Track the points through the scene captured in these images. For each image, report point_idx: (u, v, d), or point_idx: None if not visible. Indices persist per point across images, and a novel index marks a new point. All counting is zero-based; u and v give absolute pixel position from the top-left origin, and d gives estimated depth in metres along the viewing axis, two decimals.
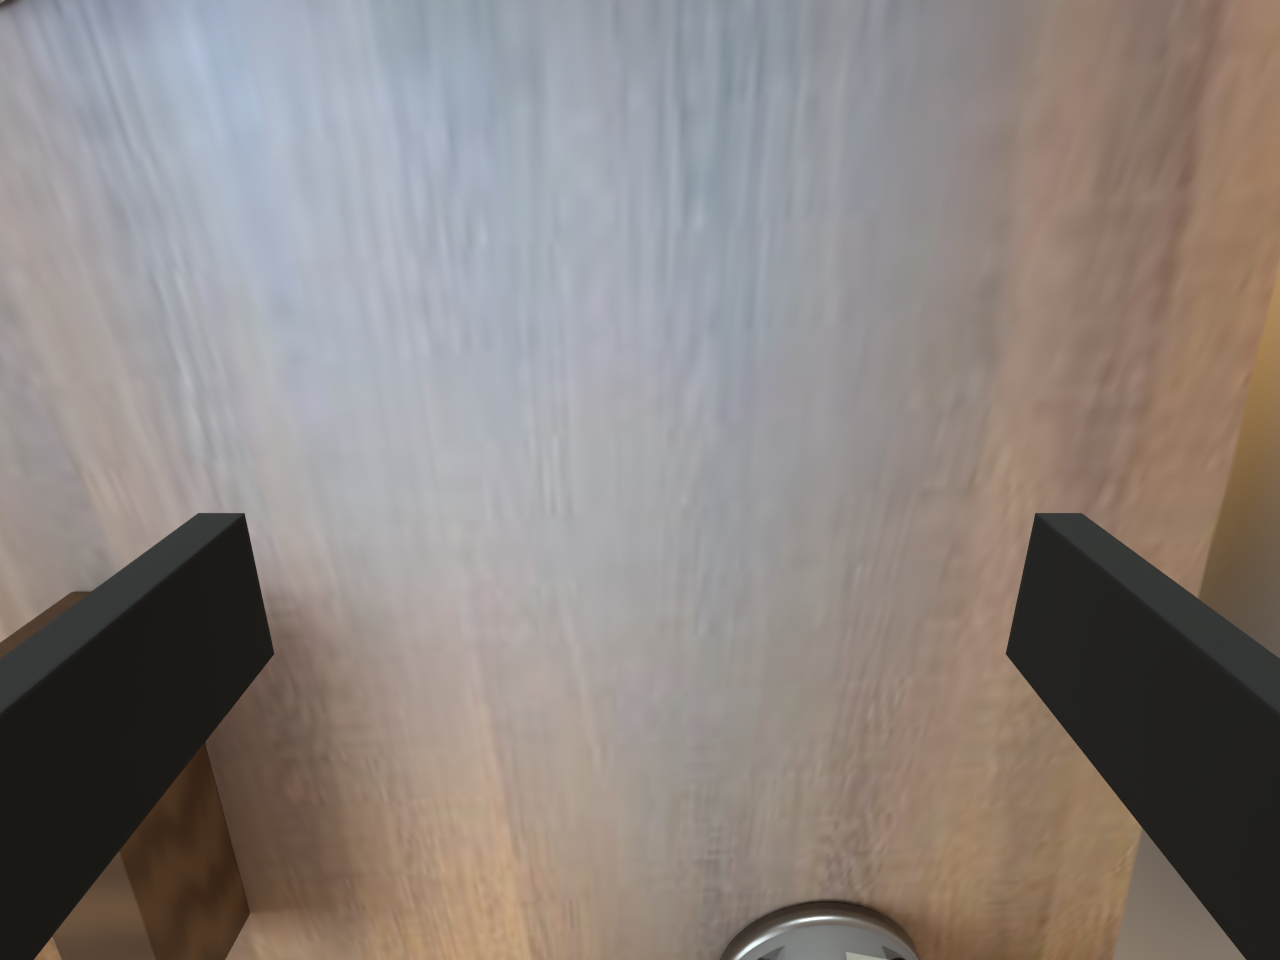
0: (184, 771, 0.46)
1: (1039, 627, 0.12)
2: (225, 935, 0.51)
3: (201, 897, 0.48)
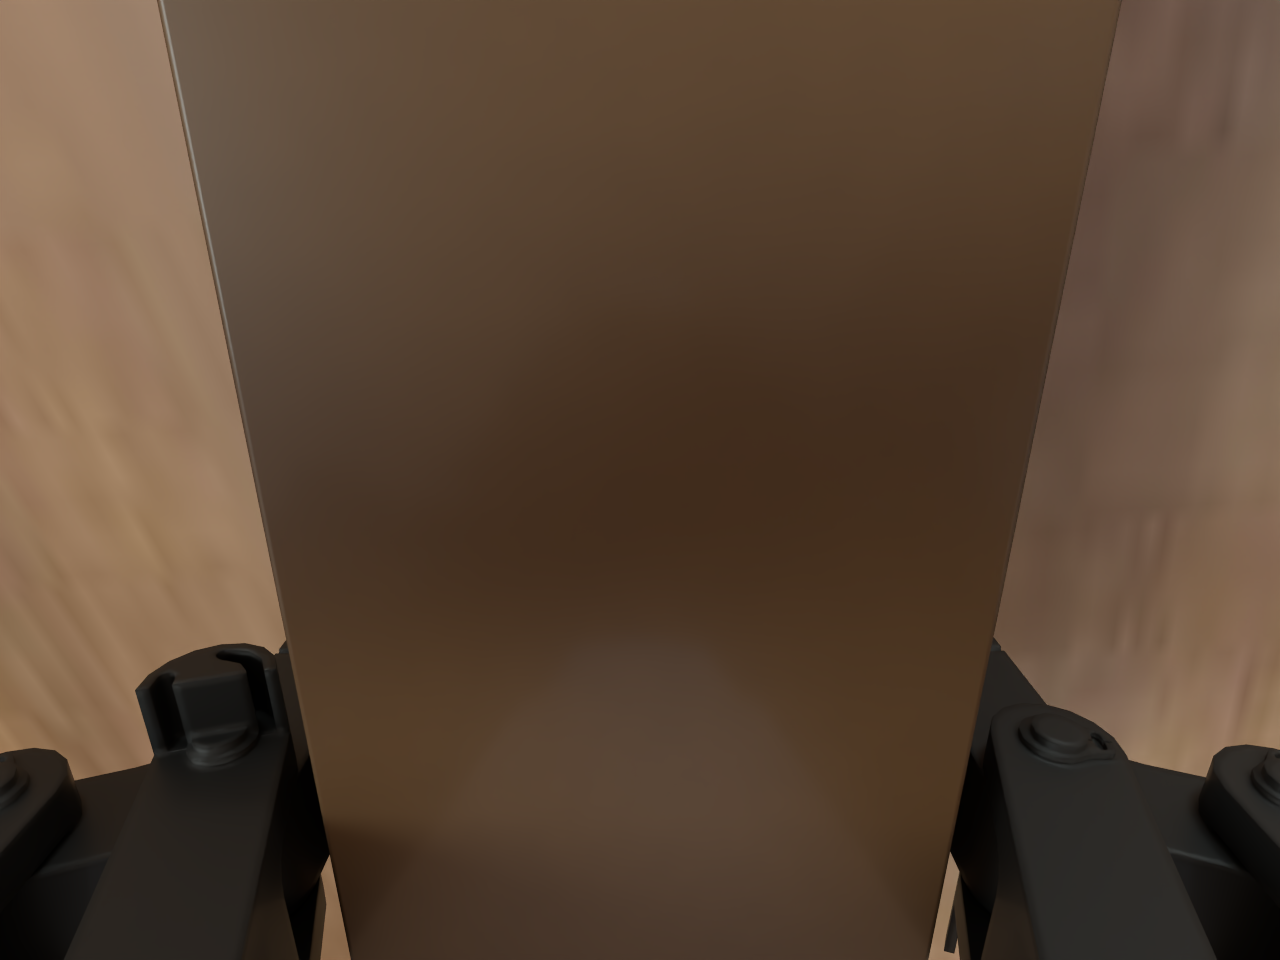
0: None
1: None
2: None
3: None
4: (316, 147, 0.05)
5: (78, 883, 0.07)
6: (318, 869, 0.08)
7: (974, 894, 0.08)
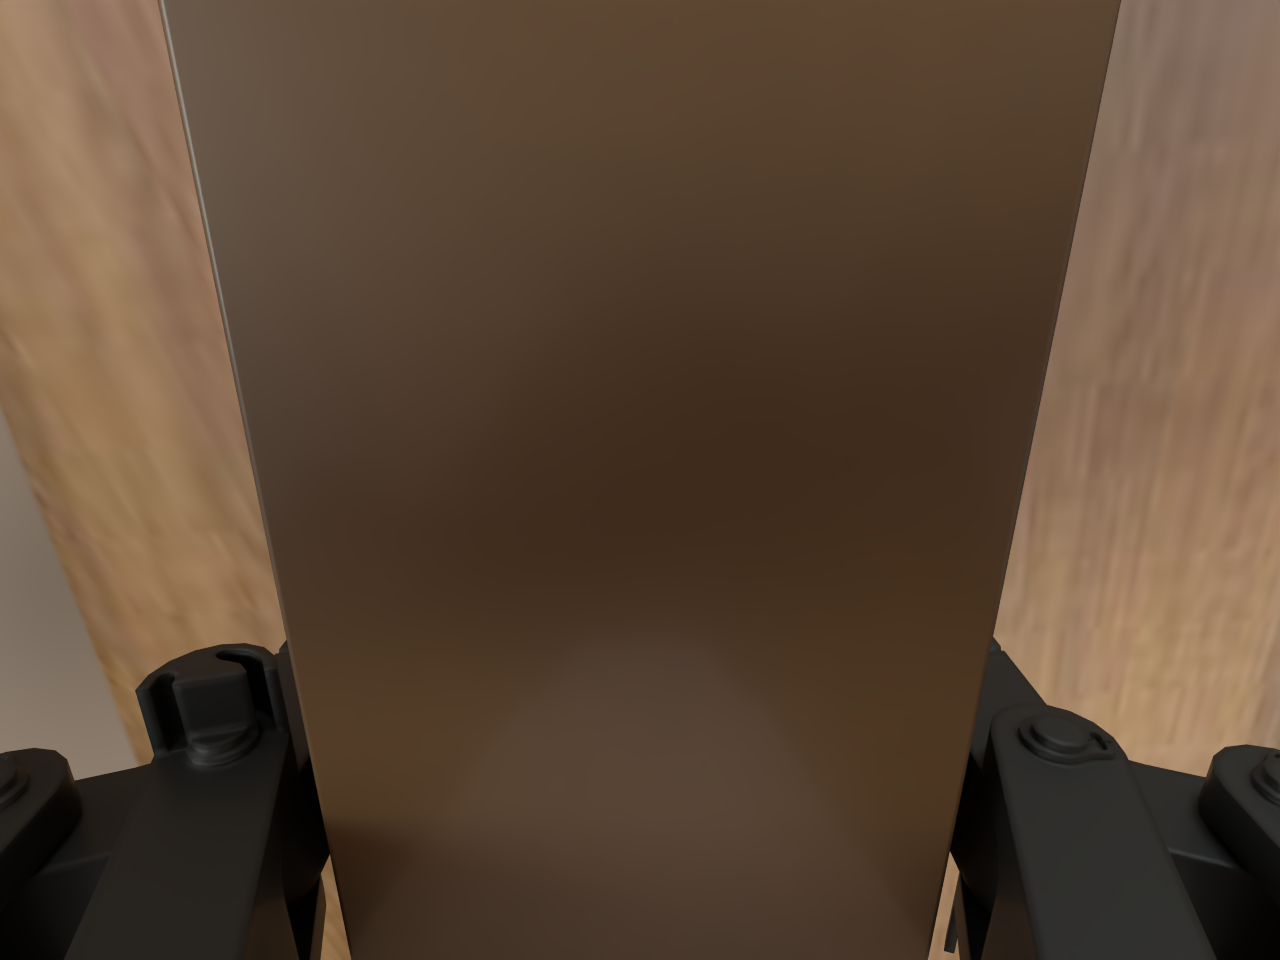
0: None
1: None
2: None
3: None
4: (316, 145, 0.05)
5: (78, 883, 0.07)
6: (318, 869, 0.08)
7: (974, 894, 0.08)
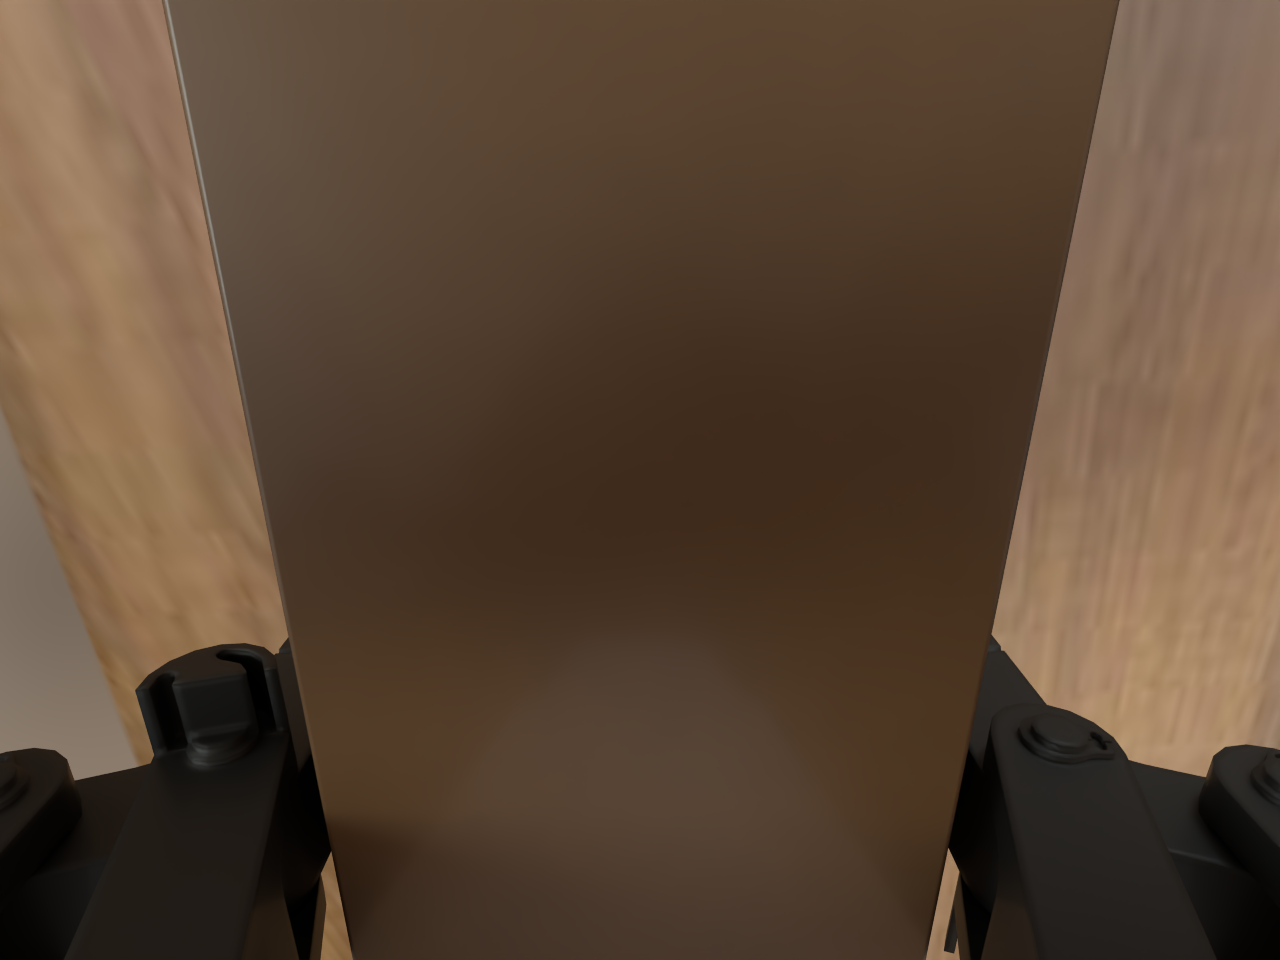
0: None
1: None
2: None
3: None
4: (319, 144, 0.05)
5: (78, 883, 0.07)
6: (318, 869, 0.08)
7: (974, 894, 0.08)
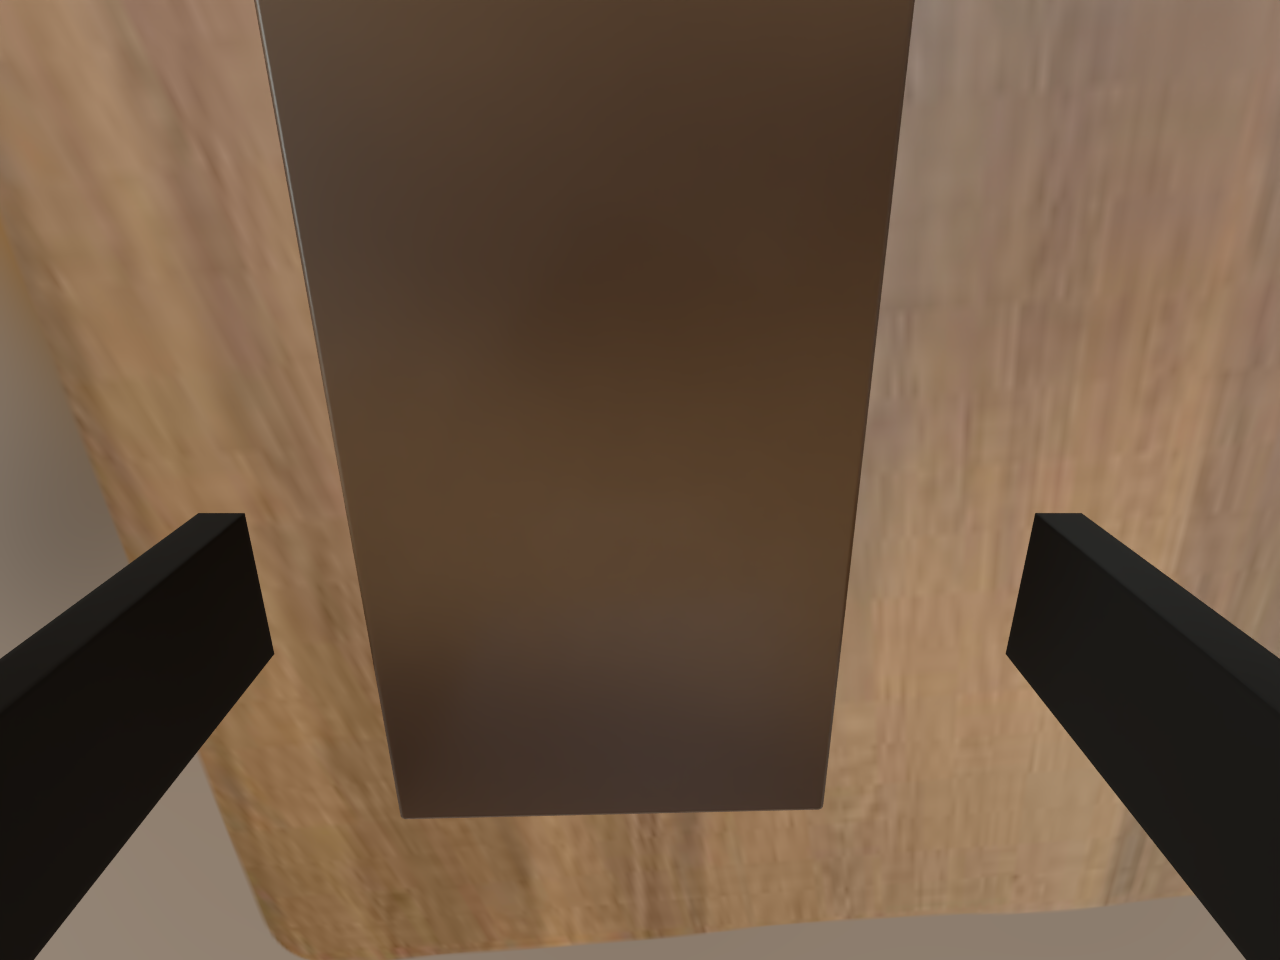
0: None
1: (1039, 627, 0.12)
2: None
3: None
4: None
5: None
6: None
7: None
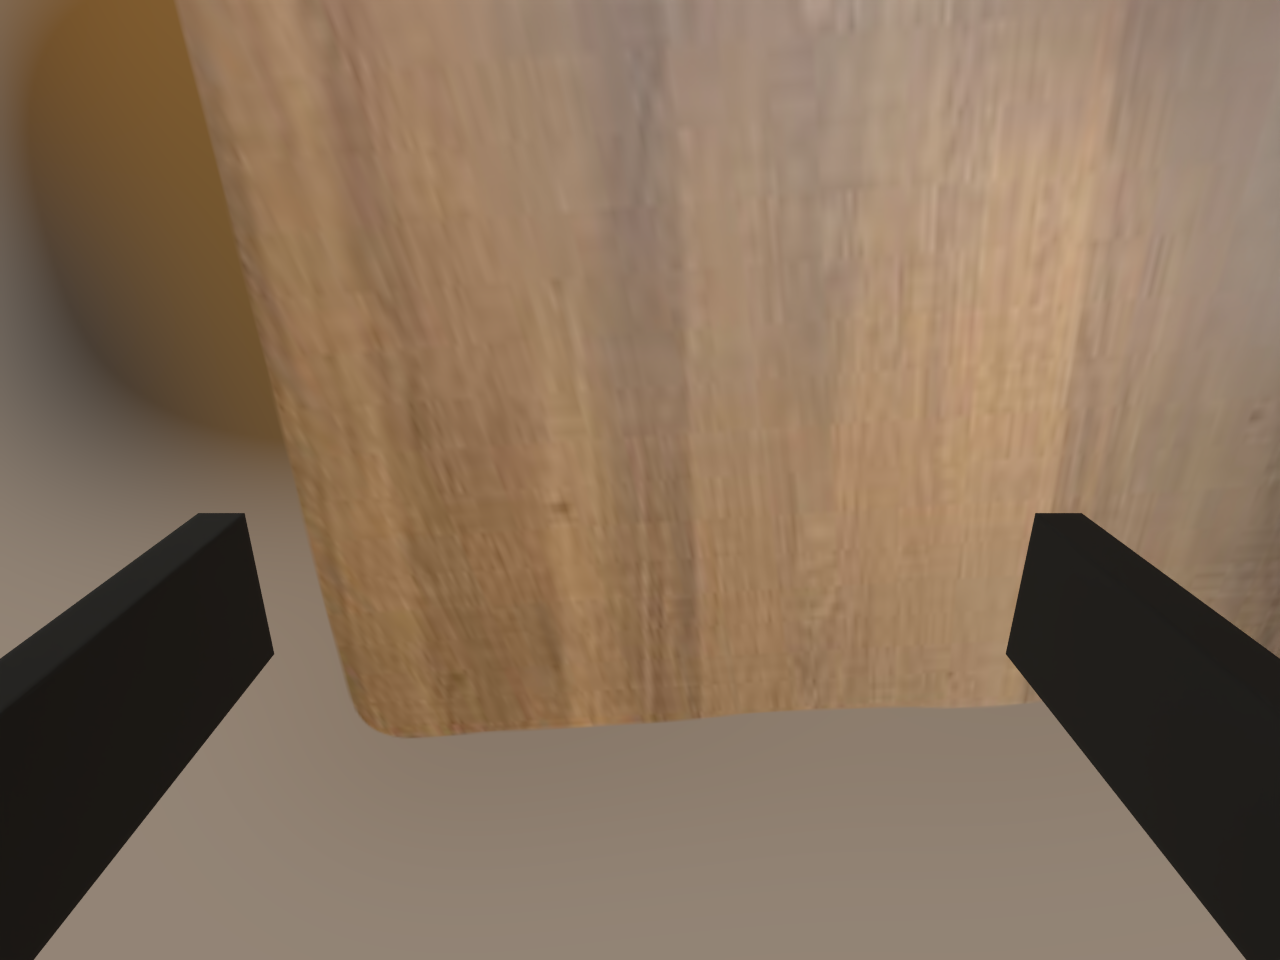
0: None
1: (1039, 627, 0.12)
2: None
3: None
4: None
5: None
6: None
7: None
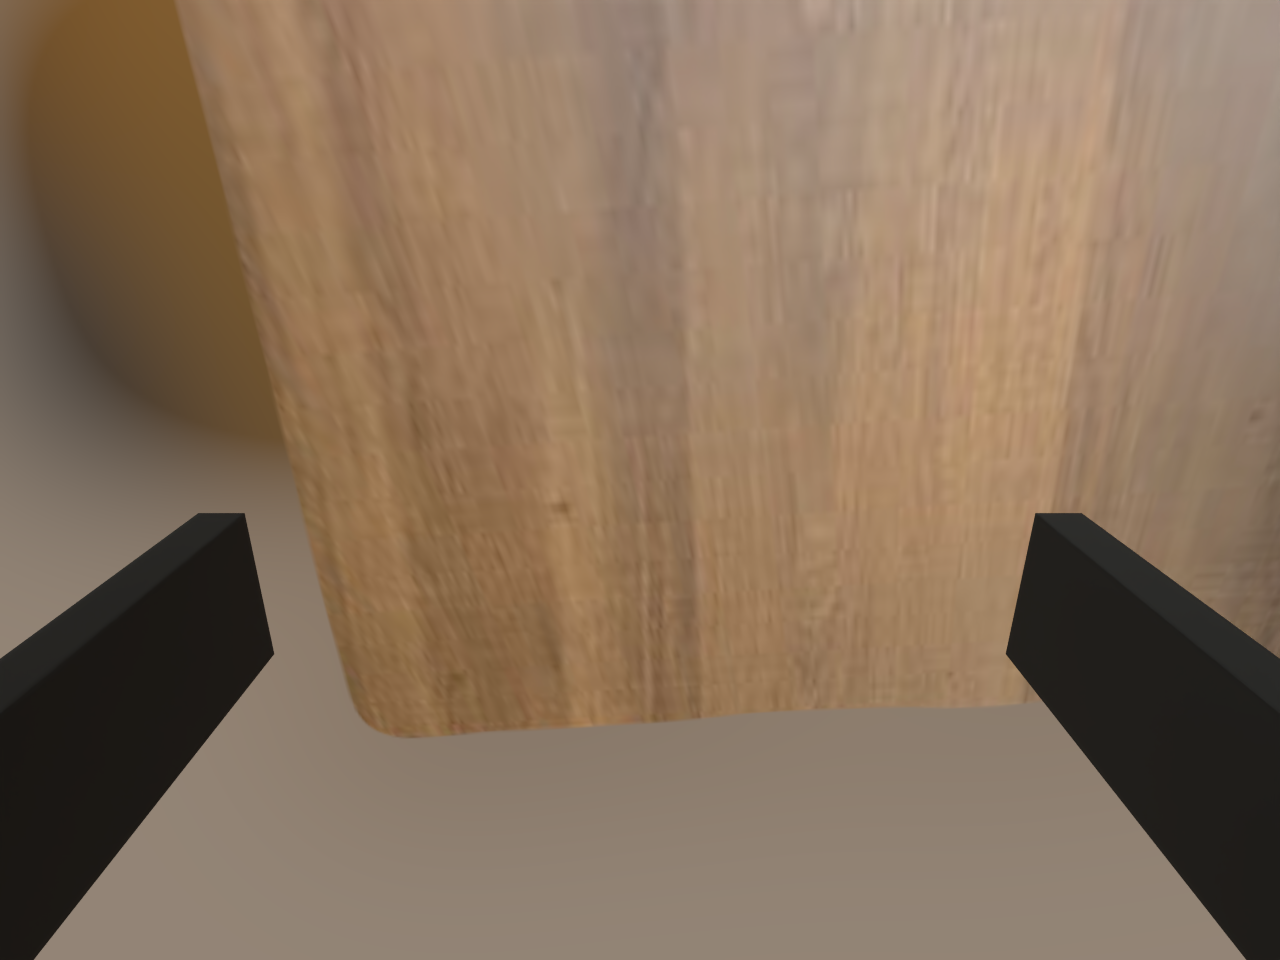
0: None
1: (1039, 627, 0.12)
2: None
3: None
4: None
5: None
6: None
7: None
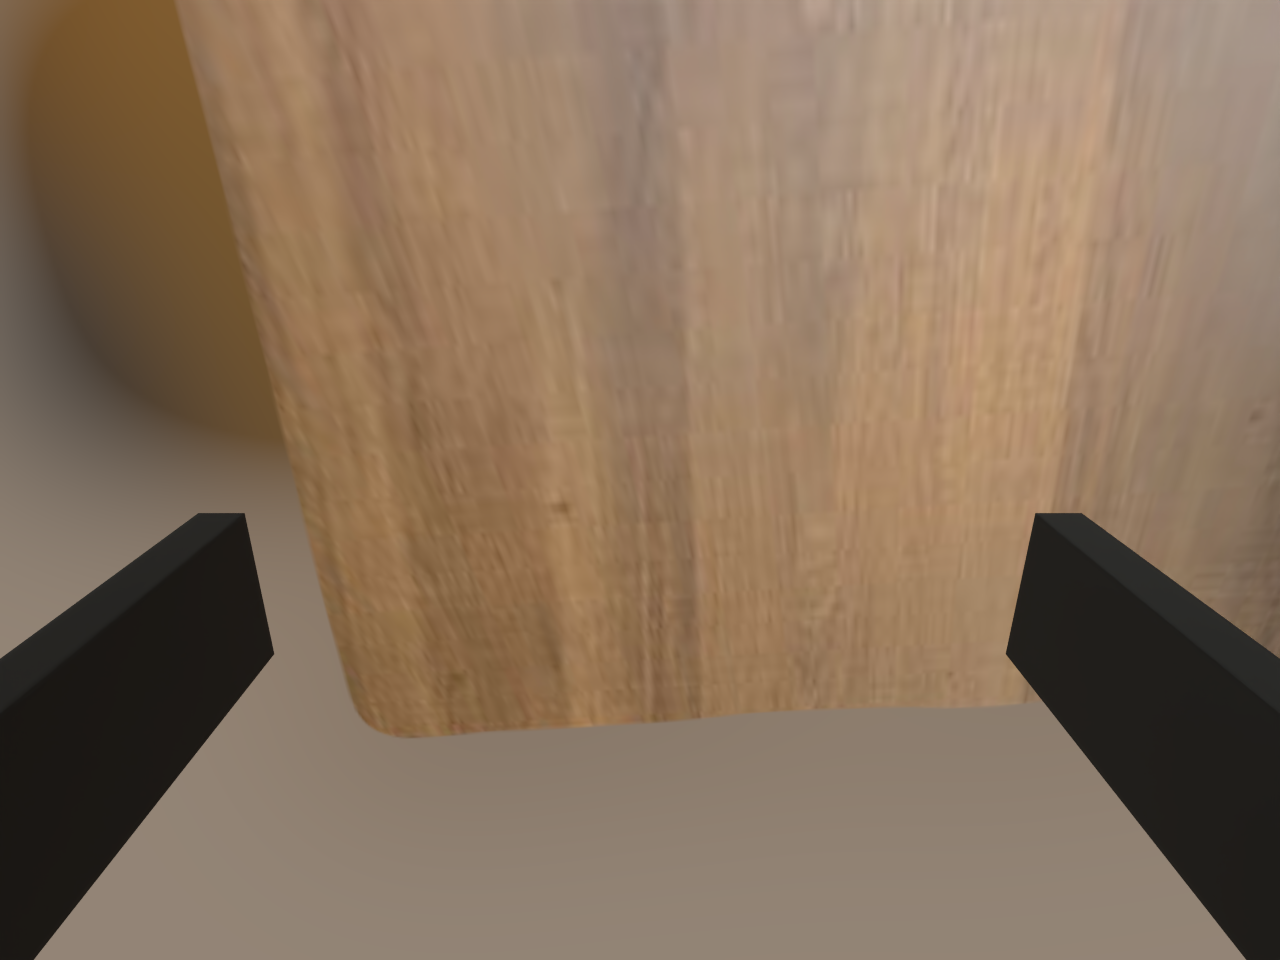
0: None
1: (1039, 627, 0.12)
2: None
3: None
4: None
5: None
6: None
7: None
